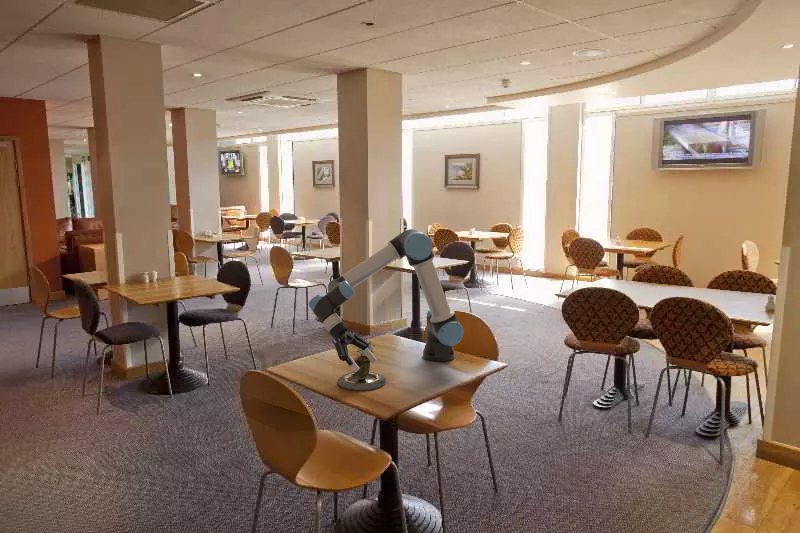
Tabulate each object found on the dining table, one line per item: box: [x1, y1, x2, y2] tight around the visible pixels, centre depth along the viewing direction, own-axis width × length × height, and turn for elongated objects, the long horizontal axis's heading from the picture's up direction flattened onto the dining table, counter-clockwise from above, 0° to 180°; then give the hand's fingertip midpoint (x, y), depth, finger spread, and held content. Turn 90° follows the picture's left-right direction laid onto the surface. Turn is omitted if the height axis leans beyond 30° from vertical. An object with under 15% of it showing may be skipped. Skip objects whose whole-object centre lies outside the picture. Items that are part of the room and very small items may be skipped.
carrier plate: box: [337, 371, 387, 392], centre depth 245 cm, size 20×20×2 cm
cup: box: [353, 358, 371, 381], centre depth 244 cm, size 8×7×8 cm
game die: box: [356, 338, 376, 359], centre depth 280 cm, size 9×8×10 cm
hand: (366, 366), depth 243 cm, fingers open, 13 cm apart
